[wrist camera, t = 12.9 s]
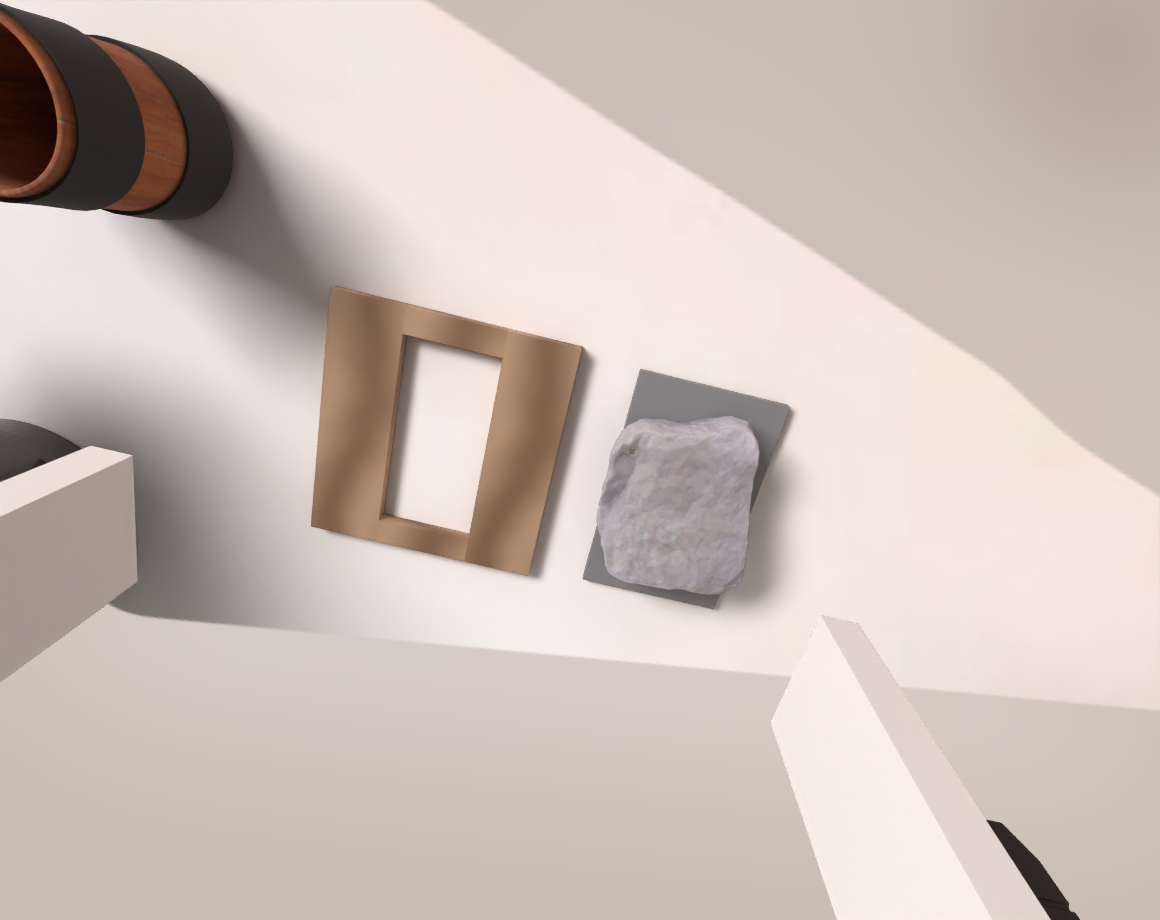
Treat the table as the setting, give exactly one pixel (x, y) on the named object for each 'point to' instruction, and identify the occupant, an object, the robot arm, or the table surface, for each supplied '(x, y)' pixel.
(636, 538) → the stone block
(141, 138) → the mug
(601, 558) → the mat
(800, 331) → the table surface
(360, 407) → the pocket board
